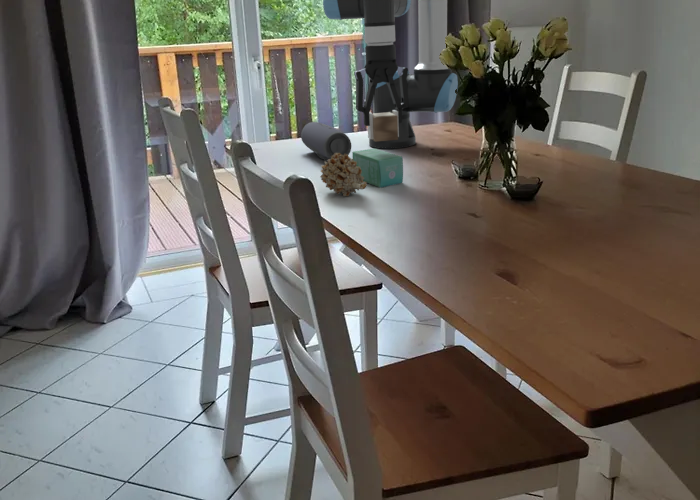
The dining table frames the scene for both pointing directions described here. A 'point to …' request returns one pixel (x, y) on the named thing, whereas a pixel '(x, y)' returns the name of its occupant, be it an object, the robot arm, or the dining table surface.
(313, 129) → the bluetooth speaker
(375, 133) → the walnut cube
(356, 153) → the box
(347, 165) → the pine cone
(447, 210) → the dining table surface
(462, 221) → the dining table surface
